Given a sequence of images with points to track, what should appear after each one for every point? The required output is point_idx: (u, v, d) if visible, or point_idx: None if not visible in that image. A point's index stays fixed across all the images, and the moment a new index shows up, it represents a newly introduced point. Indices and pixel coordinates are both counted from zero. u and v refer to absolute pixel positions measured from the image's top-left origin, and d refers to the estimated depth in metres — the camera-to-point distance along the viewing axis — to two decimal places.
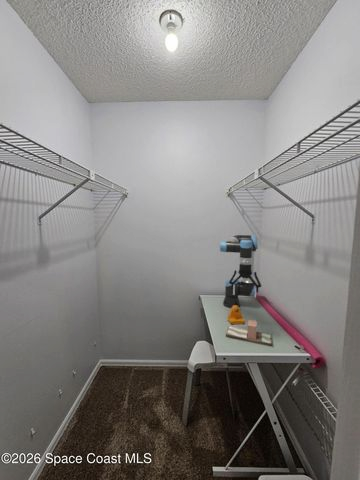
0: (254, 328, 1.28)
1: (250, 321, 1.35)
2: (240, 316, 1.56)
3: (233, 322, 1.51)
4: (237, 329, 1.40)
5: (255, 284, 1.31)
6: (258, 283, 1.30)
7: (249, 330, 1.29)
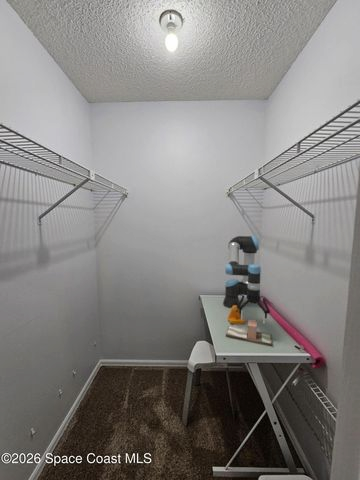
0: (254, 328, 1.28)
1: (250, 321, 1.35)
2: (240, 316, 1.56)
3: (233, 322, 1.51)
4: (237, 329, 1.40)
5: (264, 310, 1.28)
6: (267, 309, 1.28)
7: (249, 330, 1.29)
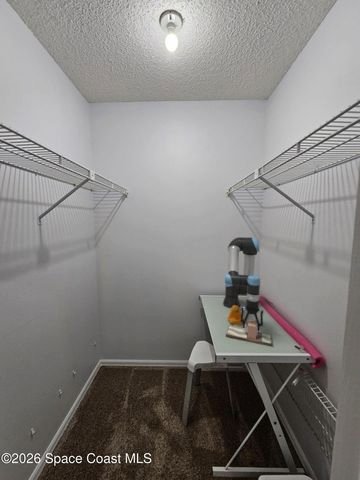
0: (254, 328, 1.28)
1: (250, 321, 1.35)
2: (240, 316, 1.56)
3: (233, 322, 1.51)
4: (237, 329, 1.40)
5: (258, 323, 1.30)
6: (261, 322, 1.30)
7: (249, 330, 1.29)
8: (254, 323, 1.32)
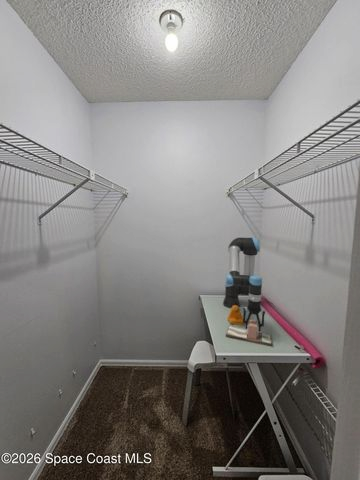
0: (254, 328, 1.28)
1: (250, 321, 1.35)
2: (240, 316, 1.56)
3: (233, 322, 1.51)
4: (237, 329, 1.40)
5: (259, 323, 1.30)
6: (262, 322, 1.29)
7: (249, 330, 1.29)
8: (255, 323, 1.32)
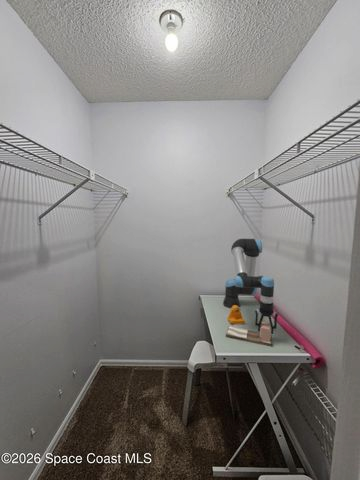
0: (268, 331, 1.25)
1: (263, 323, 1.32)
2: (240, 316, 1.56)
3: (233, 322, 1.51)
4: (237, 329, 1.40)
5: (271, 325, 1.27)
6: (275, 324, 1.27)
7: (263, 333, 1.27)
8: (267, 325, 1.29)
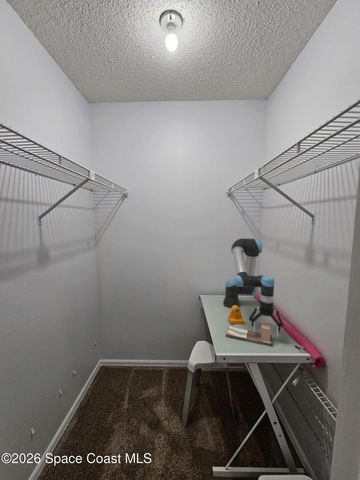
0: (268, 331, 1.25)
1: (263, 323, 1.32)
2: (240, 316, 1.56)
3: (233, 322, 1.51)
4: (237, 329, 1.40)
5: (277, 323, 1.26)
6: (280, 322, 1.26)
7: (263, 333, 1.26)
8: (268, 325, 1.29)
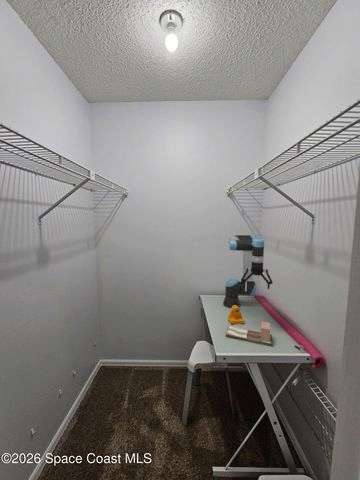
0: (268, 331, 1.25)
1: (263, 323, 1.32)
2: (240, 316, 1.56)
3: (233, 322, 1.51)
4: (237, 329, 1.40)
5: (267, 281, 1.37)
6: (270, 280, 1.36)
7: (263, 333, 1.26)
8: (268, 325, 1.29)
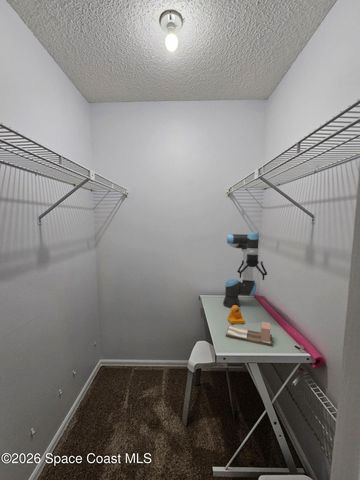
0: (268, 331, 1.25)
1: (263, 323, 1.32)
2: (240, 316, 1.56)
3: (233, 322, 1.51)
4: (237, 329, 1.40)
5: (261, 272, 1.43)
6: (264, 271, 1.42)
7: (263, 333, 1.26)
8: (268, 325, 1.29)
